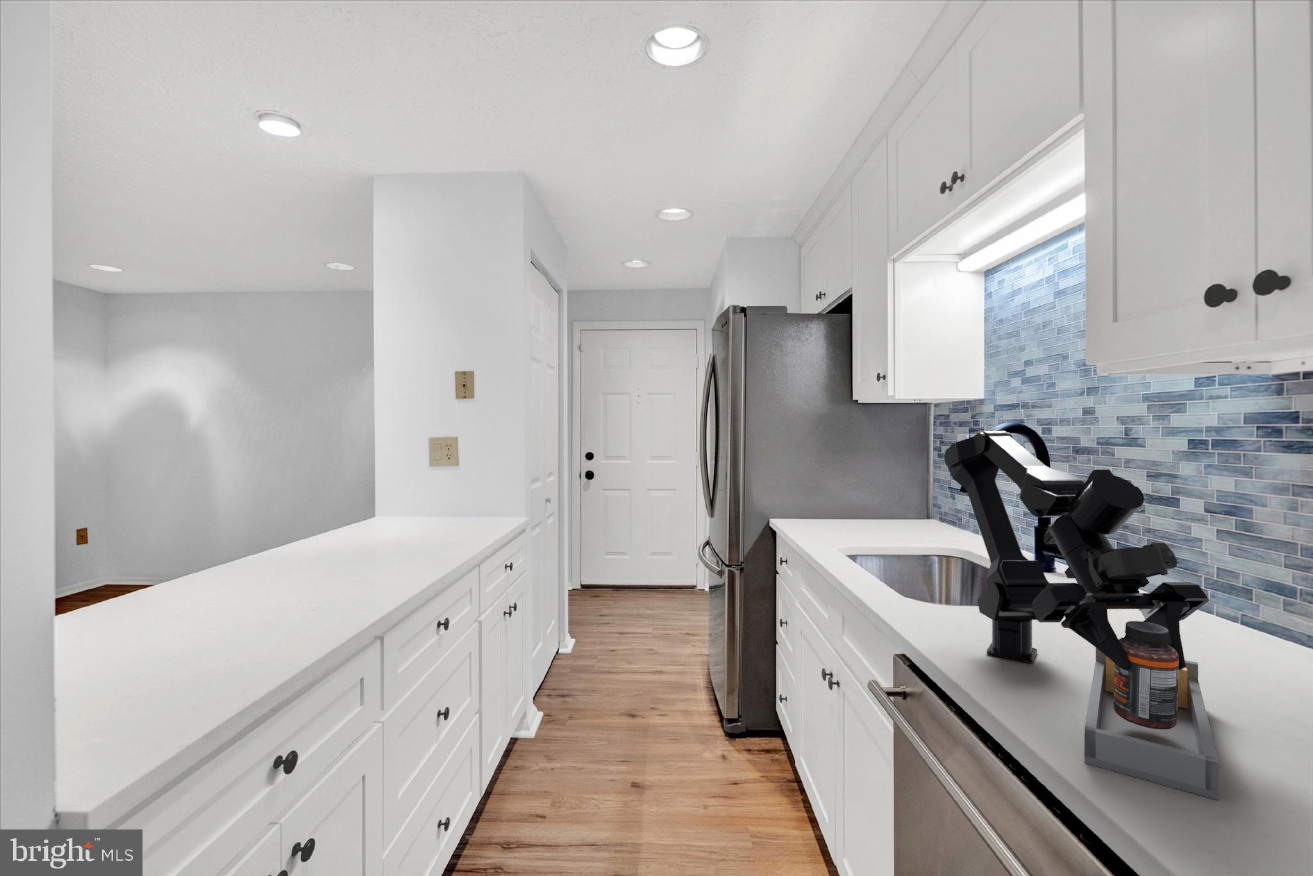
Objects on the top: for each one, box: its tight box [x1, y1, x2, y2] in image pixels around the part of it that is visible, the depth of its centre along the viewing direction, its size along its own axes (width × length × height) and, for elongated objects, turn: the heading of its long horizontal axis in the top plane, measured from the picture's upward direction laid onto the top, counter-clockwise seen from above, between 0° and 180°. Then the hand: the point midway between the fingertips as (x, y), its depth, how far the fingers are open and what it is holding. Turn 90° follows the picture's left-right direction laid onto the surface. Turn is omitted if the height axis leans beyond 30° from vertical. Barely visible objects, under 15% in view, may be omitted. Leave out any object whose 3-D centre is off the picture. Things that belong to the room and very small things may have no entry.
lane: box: [1083, 647, 1220, 801], centre depth 74 cm, size 26×11×6 cm, turn 141°
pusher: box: [1106, 656, 1187, 708], centre depth 81 cm, size 4×8×5 cm, turn 51°
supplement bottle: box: [1113, 620, 1179, 730], centre depth 71 cm, size 6×6×11 cm
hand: (1154, 668), depth 70 cm, fingers closed on supplement bottle, 6 cm apart
